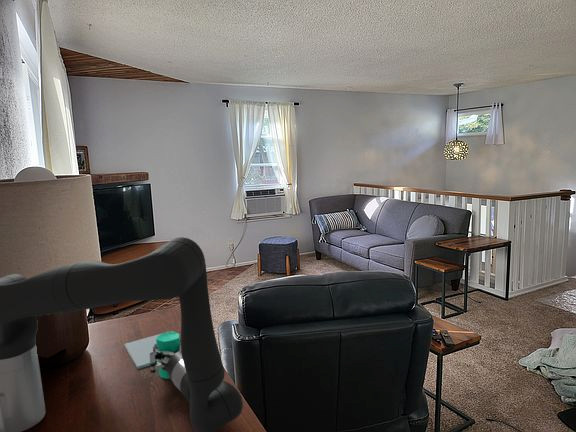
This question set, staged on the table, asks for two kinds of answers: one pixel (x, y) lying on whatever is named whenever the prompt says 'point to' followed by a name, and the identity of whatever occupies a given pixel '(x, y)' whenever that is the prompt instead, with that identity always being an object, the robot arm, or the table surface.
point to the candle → (167, 346)
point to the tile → (141, 351)
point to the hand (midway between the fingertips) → (165, 344)
